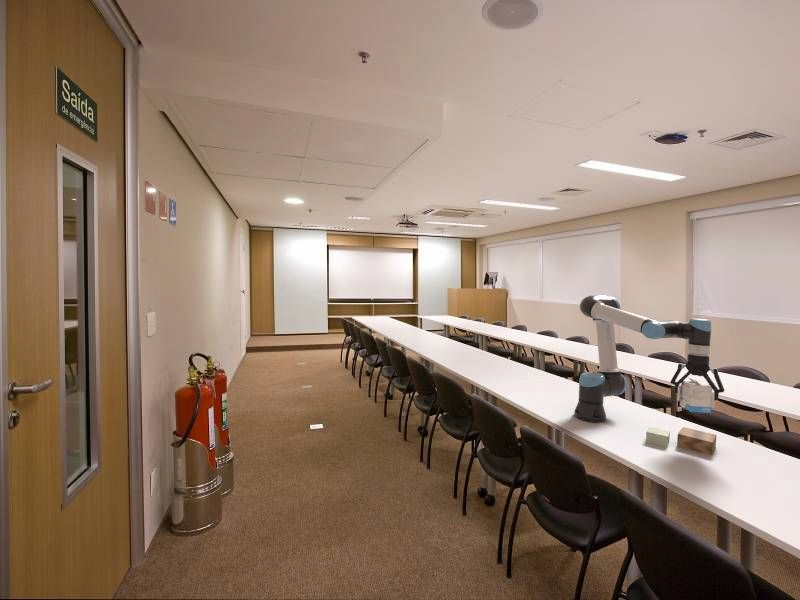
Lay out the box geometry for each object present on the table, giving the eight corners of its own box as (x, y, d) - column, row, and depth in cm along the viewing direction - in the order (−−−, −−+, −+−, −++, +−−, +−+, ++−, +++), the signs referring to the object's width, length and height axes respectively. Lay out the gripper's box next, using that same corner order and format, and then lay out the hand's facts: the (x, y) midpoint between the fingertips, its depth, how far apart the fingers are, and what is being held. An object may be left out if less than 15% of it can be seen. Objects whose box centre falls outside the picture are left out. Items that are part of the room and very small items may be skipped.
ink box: (711, 413, 163) (713, 382, 162) (689, 411, 165) (691, 381, 164) (700, 407, 171) (702, 377, 171) (679, 405, 173) (681, 376, 172)
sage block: (645, 442, 172) (646, 431, 172) (648, 437, 178) (649, 426, 178) (667, 447, 167) (668, 436, 167) (669, 442, 173) (669, 431, 173)
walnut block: (676, 447, 168) (677, 433, 168) (682, 439, 177) (682, 426, 176) (711, 456, 160) (712, 442, 159) (715, 448, 168) (716, 434, 168)
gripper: (664, 351, 173) (661, 398, 174) (733, 359, 156) (729, 412, 157) (668, 349, 178) (665, 395, 179) (735, 357, 161) (732, 408, 162)
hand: (695, 403), depth 168 cm, fingers closed on ink box, 11 cm apart
